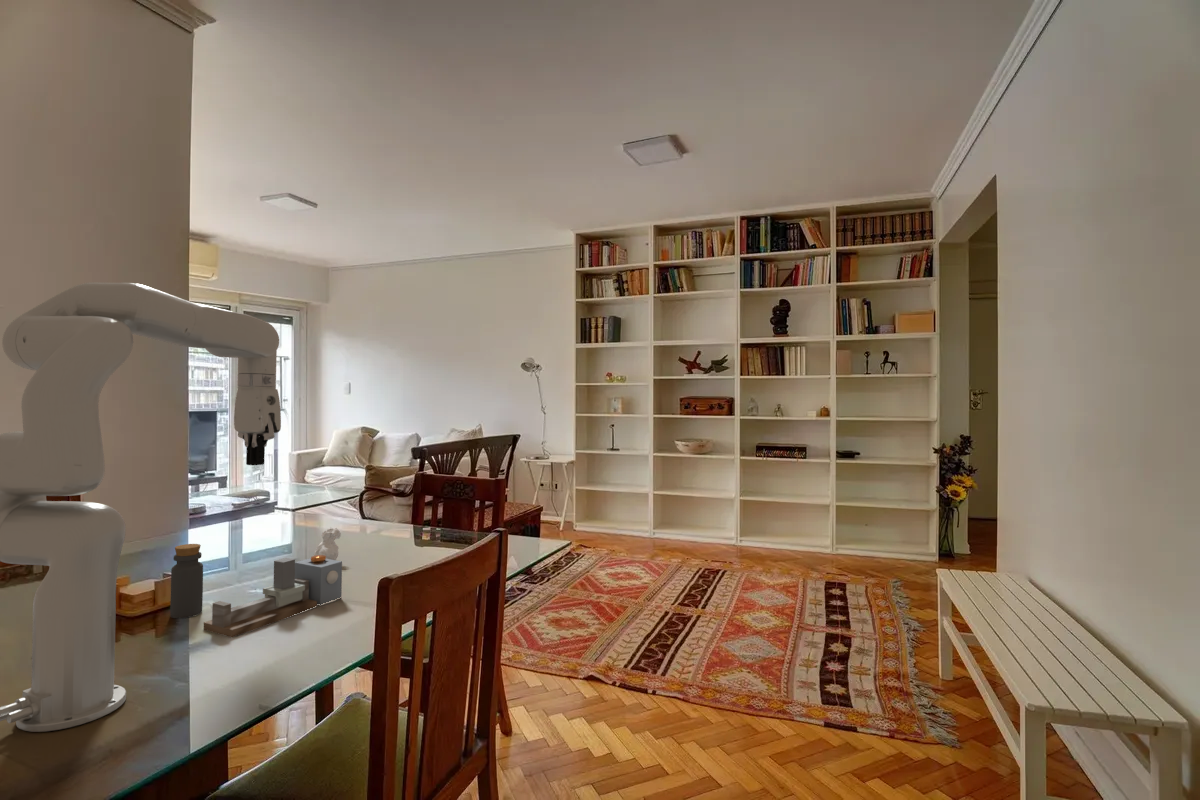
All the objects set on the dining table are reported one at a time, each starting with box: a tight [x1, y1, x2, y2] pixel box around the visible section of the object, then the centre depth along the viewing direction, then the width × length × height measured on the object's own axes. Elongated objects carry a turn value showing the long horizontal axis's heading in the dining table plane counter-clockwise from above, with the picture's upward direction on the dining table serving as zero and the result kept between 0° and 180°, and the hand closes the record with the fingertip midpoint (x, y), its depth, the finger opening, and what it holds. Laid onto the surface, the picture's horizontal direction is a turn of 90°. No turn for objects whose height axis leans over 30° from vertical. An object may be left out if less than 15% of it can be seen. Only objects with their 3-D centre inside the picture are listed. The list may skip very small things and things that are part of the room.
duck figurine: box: [313, 526, 342, 560], centre depth 177 cm, size 12×8×11 cm
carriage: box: [262, 557, 305, 607], centre depth 136 cm, size 6×6×9 cm
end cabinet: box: [295, 557, 343, 605], centre depth 144 cm, size 6×9×9 cm, turn 65°
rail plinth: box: [203, 578, 317, 638], centre depth 132 cm, size 20×9×6 cm, turn 155°
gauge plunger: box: [310, 555, 326, 564], centre depth 144 cm, size 3×3×6 cm
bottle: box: [169, 543, 204, 619], centre depth 133 cm, size 6×6×15 cm
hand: (255, 464), depth 135 cm, fingers closed
